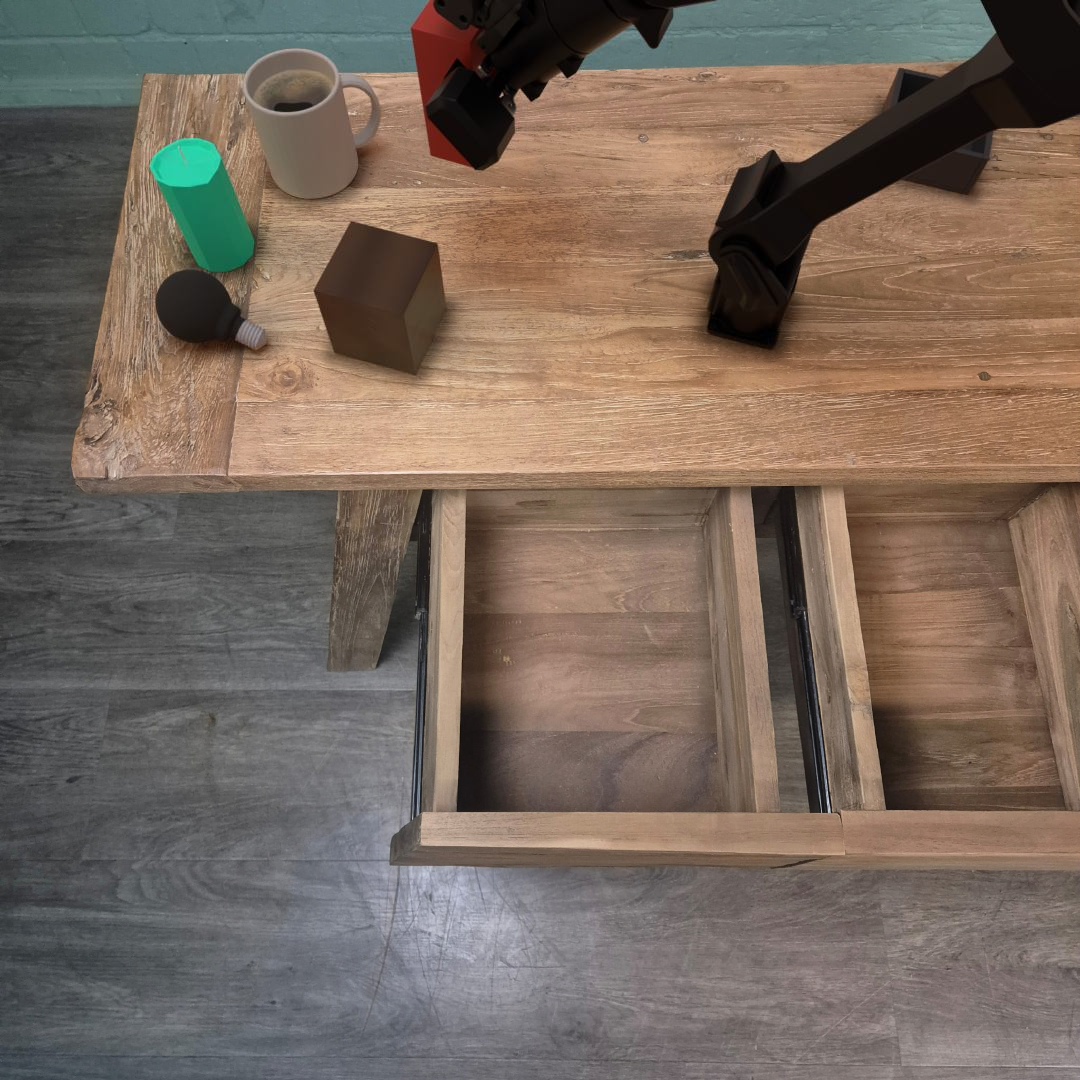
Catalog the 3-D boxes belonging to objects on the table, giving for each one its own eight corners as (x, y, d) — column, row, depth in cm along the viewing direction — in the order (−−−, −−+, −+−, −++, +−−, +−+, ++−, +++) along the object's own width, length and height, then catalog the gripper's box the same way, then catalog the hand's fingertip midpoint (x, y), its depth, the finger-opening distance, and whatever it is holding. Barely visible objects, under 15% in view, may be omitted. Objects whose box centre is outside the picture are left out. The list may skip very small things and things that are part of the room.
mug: (258, 190, 89) (227, 104, 80) (291, 125, 93) (265, 35, 84) (361, 210, 88) (341, 126, 79) (390, 143, 92) (375, 55, 83)
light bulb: (257, 343, 76) (143, 286, 74) (246, 387, 81) (139, 335, 79) (287, 297, 80) (180, 241, 78) (275, 342, 85) (173, 291, 83)
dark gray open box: (979, 126, 94) (1000, 89, 89) (968, 195, 90) (989, 159, 85) (883, 104, 95) (899, 67, 91) (867, 171, 91) (883, 135, 87)
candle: (196, 278, 84) (145, 179, 73) (189, 231, 87) (139, 129, 76) (259, 265, 85) (218, 165, 74) (250, 219, 87) (210, 116, 76)
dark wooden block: (446, 308, 83) (438, 243, 75) (415, 375, 80) (403, 314, 72) (367, 286, 84) (350, 220, 76) (333, 352, 81) (313, 290, 73)
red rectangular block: (500, 140, 79) (491, 10, 68) (482, 170, 77) (470, 43, 66) (449, 125, 80) (432, -5, 69) (430, 155, 78) (410, 27, 67)
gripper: (548, -166, 63) (425, -45, 74) (437, -7, 55) (320, 99, 67) (642, -28, 69) (514, 64, 80) (552, 132, 61) (426, 207, 73)
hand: (447, 104), depth 75 cm, fingers closed on red rectangular block, 4 cm apart
